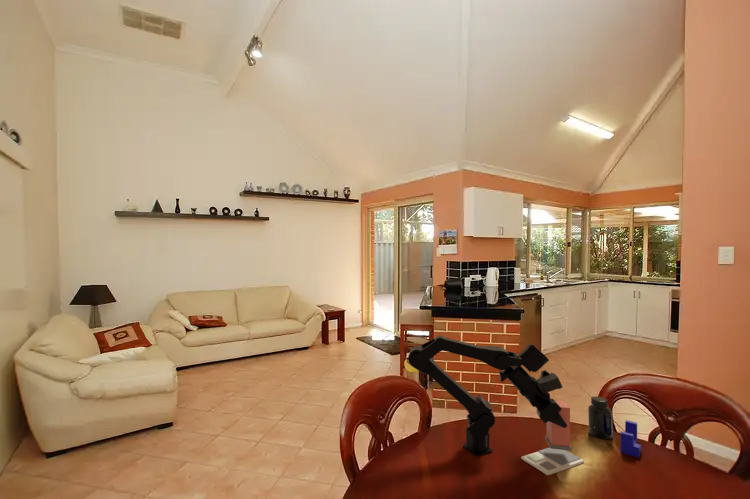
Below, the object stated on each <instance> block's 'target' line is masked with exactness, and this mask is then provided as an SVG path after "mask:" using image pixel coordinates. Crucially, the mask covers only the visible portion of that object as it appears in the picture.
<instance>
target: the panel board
mask: <svg viewBox="0 0 750 499" xmlns="http://www.w3.org/2000/svg"><path fill="white" fill-rule="evenodd" d="M520 458H521V460H522V461H524V462H525V463H527V464H529V465H530V466H532V467H533V468H536V469H537V470H538V471H539V472H542V473H543V474H544V475H546V476H551V475H553V474H555V473H559V472H562V471H563V470H564V471H565V470H567V469H570V468H572V467H576V466H579V465H581V464H584V462H585V460H584V459H582V458H581V457H579V456H578V455H575V454H573V453H571V452H569V450H560V449H551V448H550V447H546V448H543V449H540V450H537V451H536V452H533V453H529V454H526V455H523V456H521V457H520Z"/></svg>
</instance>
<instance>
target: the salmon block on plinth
mask: <svg viewBox="0 0 750 499" xmlns="http://www.w3.org/2000/svg"><path fill="white" fill-rule="evenodd" d="M555 401H556V402H557V404H558V405H559V406H560V407H561V408H562V409H561V411H560V412H559V414H560V415H561V417H562V418H563V420H564V421H565V423H566V424H567V427H566V428H563V427H561V426H559V425H556V424H554V423H552V422H549V421H548V422H547V423H546V435H545V436H544V439H545V441H546V444H547V445H548V446H549V447H550V448H551V449H560V450H566V451H568V452H569V451H572V449H573V448H572V446H571V408H570V406H569V405H568V404H567V403H566V402H565V401H563V400H562V401H561V400H555ZM549 447H548V448H549Z"/></svg>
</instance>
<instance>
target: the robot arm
mask: <svg viewBox="0 0 750 499" xmlns="http://www.w3.org/2000/svg"><path fill="white" fill-rule="evenodd" d="M440 352H447V353H451V354H455V355H458V356H463V357H466V358H471V359H474V360H478V361H480V362H482V363H484V364H486V365H487V366H489V367H492V368H494V369H497V370H498V373H499V374H498V379H499V381H500V382H501V383H503V382H504V381H505V380H508V381H509V382H510V383H511V385H512V386H514V388H516V389H517V391H519V393H520V395H522V397H524V398H525V399H526V400H527V401H528V402H529V404H530V405H531V406H532V407H533V408H536V414H537V416H538V418H539V419H540V420H541V421H542V422H543V424H547V422H548V421H549V422H552V423H554V424H556V425H559V426H561V427H563V428H566V427H567V424H566V423H565V421H564V420H563V418H562V417H561V415H560V414H559V412H560V411H561V409H562V408H561V407H560V406H559V405H558V404H557V402H556V401H557V400H555V399H554V398H551V394H550V392H552V391H555V390H560V389H562V388H563V384H562V383H561V381H560V378H559V376H558V375H557V374H556V373H554V372H549V371H547V370H546V369H544V370H541V371H540V376H539V378H537V379H536V378H535V377H534V376H531V374H529V373H528V372H530V373H531V372H532V373H537V372H538V371H539V370H540V369H542V368H543V367H544V365H546V364H547V363H549V361H550V358H548V357H547V356H546V355H545V354H544V353H543V352H542V351H541V350H540V349H538V348H537V347H536V346H535V345H534V344H533V343H530V342H529V344H528V345H527V346H526V347H525V348H524V349H523V350H522V351H521V352H520V353H519V354H518V353H517V352H513V351H508V350H506V349H505V348H504V347H502V346H495V345H478V344H477V345H476V344H474V343H470V342H465V341H462V340H457V339H453V338H450V337H449V338H448V337H445V336H443V335H438V336H436V337H434V338H432V339H430V340H429V341H427V342H424V343H423V344H421V345H414V346H413V347H412V348H411V349H410V350H409V354H408V358H407V359H408V363H409V365H410V366H411V367H412V368H414V369H416V370H417V371H419V372H420V373H422V374H425V375H427V376H428V377H430V378H431V379H432V380H433V381H434V382H436V383H437V384H438V385H439V386H440V387H441V388H443V390H445V391H446V392H447V393H448V394H449V395H450V396H452V397H453V399H455V400H456V401H457V402H458V403H459V404H461V405H462V406H463V407H464V408H465V409H466V412H467V413H468V414H467V415H466V420H467V425H468V426H467V427H466V428H465V437H466V438H465V440H466V441H465V443H464V444H462V447H463V448H464V449H466V450H468V452H470V453H471V454H472V455H474V456H475V457H476V456H477V457H478V456H481V455H486V454H489V453H492V452H493V449H492V448H491V446H490V441H491V440H490V437H491V436H490V429H491V428H493V426H494V425H495V423H496V417H495V414H494V410H493V408H492V406H491V403H490V401H488V400H486V399H485V398H484V397H483V396H482V395H481V394H480V393H479V394H477V396H475V395H473V394H471V393H470V392H469V391H468V390H466V388H464V387H463V386H462V385H461V384H460V383H459V382H457V380H455V379H454V378H453V376H451V375H450V374H448V373H447V372H446V371H445V370H444V369H443V368H442V367H441V366H439V365H438V363H436V361H435V360H434V357H435V356H436V355H437V354H439V353H440ZM522 366H523V367H522ZM524 368H525V369H524ZM526 370H527V371H528V372H527V371H526Z"/></svg>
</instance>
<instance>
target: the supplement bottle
mask: <svg viewBox="0 0 750 499" xmlns="http://www.w3.org/2000/svg"><path fill="white" fill-rule="evenodd" d="M587 416H588V432H589V434H590V435H591V436H592V437H593V438H596V439H599V440H611V439H612V438H613V434H614V432H613V430H614V429H613V412H612V410H611V408H610V407H609V401H608V398H605V397H603V396H602V397H601V396H591V398H590V405H589V406H588V408H587ZM594 427H595V428H594Z"/></svg>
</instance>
